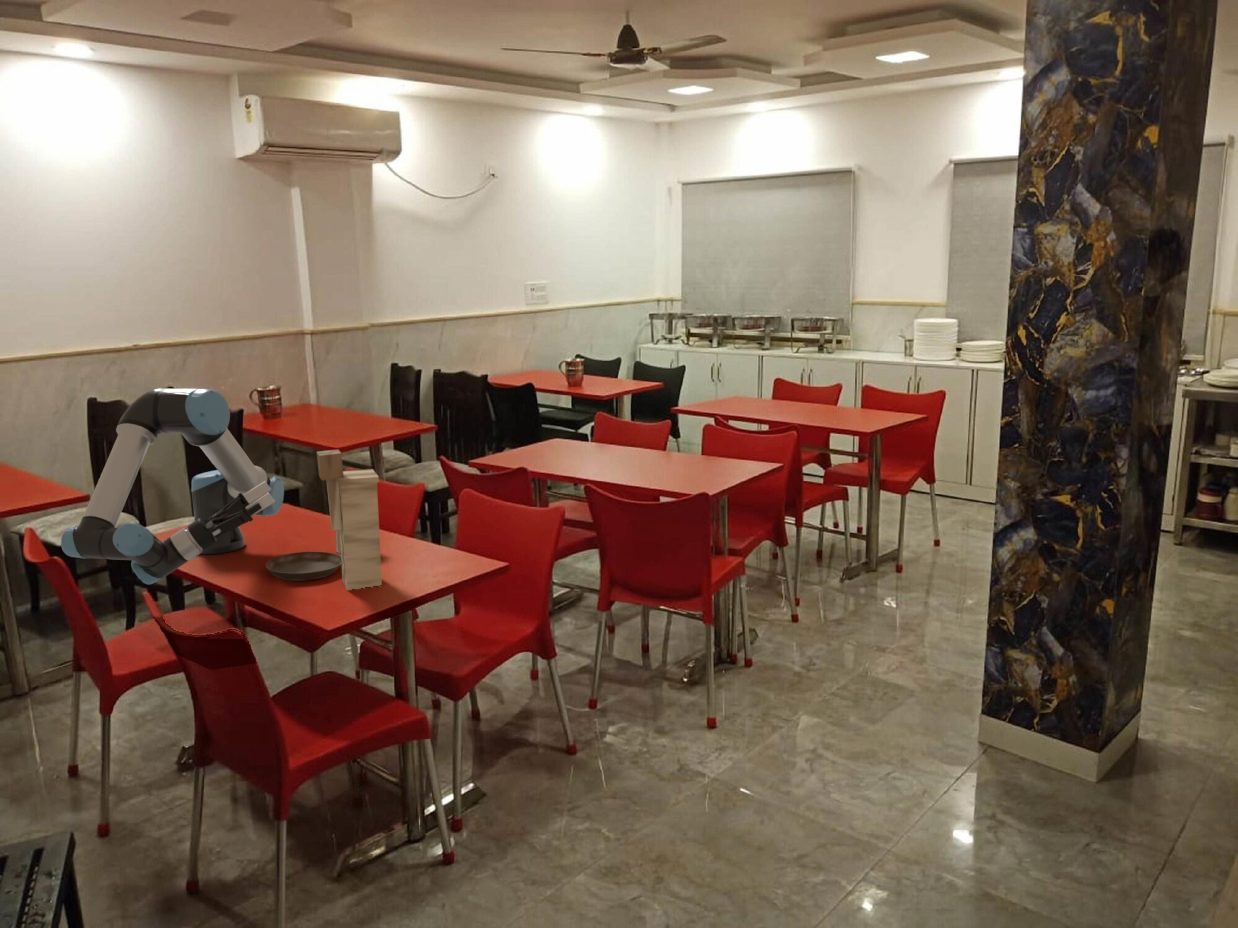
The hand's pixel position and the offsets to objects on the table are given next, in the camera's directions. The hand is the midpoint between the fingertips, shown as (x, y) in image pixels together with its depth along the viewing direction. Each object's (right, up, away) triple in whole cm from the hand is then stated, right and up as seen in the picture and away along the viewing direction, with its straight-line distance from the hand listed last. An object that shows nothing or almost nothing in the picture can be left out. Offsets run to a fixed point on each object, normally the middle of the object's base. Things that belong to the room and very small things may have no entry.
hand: (270, 490), depth 251 cm
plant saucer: (+2, -24, +24) cm, 33 cm away
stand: (+20, -25, +14) cm, 35 cm away
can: (+9, -19, +44) cm, 49 cm away
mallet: (+17, 0, +7) cm, 18 cm away
